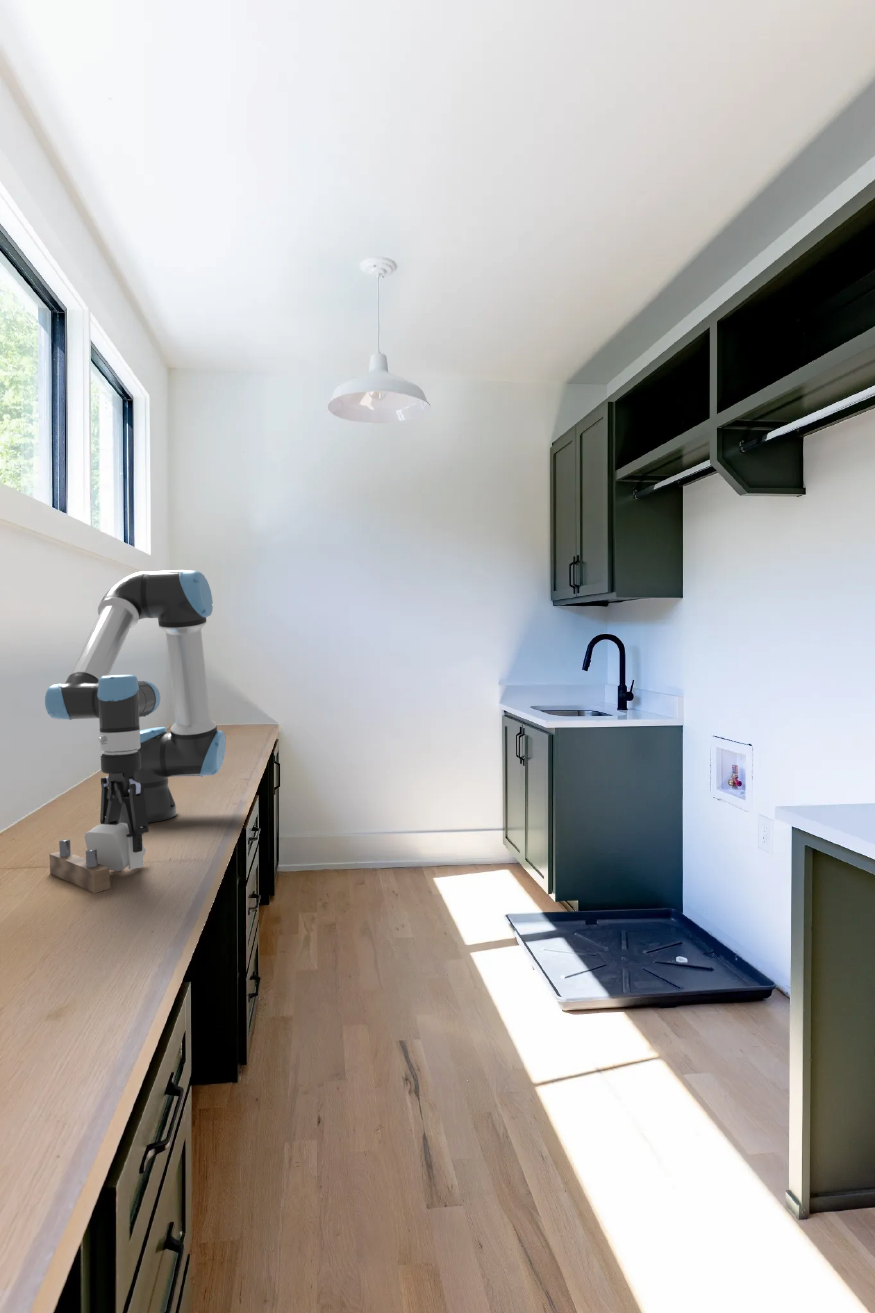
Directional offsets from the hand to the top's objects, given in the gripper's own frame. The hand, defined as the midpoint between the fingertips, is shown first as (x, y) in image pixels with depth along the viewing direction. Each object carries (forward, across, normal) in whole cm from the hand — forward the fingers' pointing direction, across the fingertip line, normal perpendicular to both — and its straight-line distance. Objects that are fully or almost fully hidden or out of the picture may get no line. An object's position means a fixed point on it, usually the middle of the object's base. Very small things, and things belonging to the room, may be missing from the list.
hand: (125, 863), depth 164 cm
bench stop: (+2, -2, -8) cm, 9 cm away
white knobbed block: (+1, -1, 0) cm, 1 cm away
